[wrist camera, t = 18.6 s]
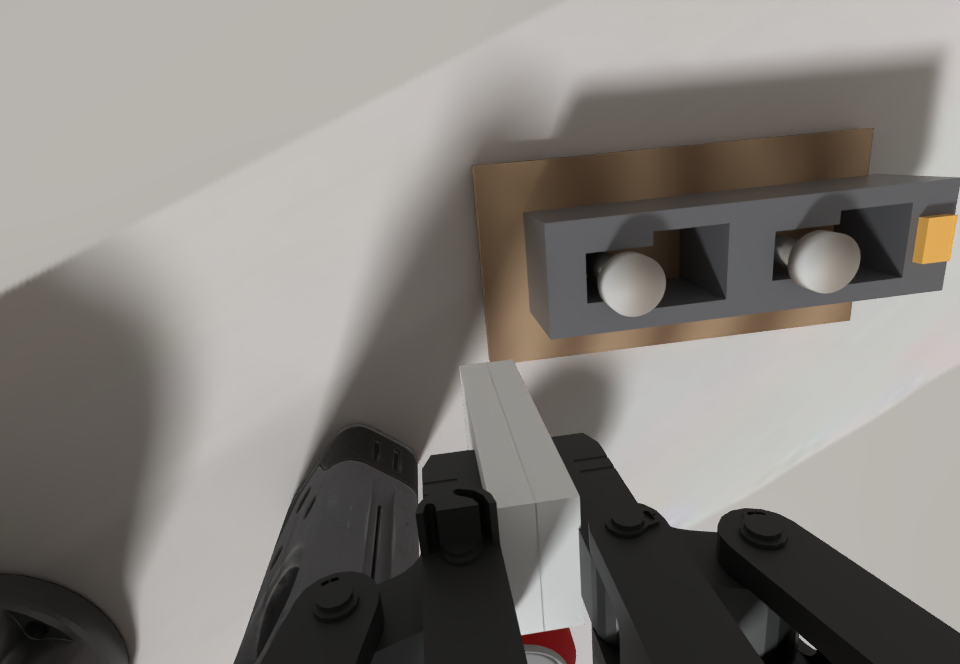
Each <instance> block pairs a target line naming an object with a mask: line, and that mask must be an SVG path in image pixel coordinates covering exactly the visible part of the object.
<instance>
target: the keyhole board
mask: <svg viewBox="0 0 960 664" xmlns="http://www.w3.org/2000/svg"><path fill="white" fill-rule="evenodd" d="M873 130H874V128H867V129H853V130H843V131H832V132H822V133H811V134H801V135H791V136H780V137H770V138H759V139H749V140H738V141H728V142H717V143H707V144H697V145H686V146H676V147H665V148H655V149H644V150H634V151H623V152H613V153H603V154H592V155H582V156H571V157H561V158H550V159H540V160H529V161H519V162H509V163H498V164H488V165H477V166H472V174H473V185H474V196H475V208H476V219H477V230H478V241H479V252H480V264H481V275H482V286H483V297H484V308H485V319H486V331H487V342H488V353H489V360H490V362H495V361H503V360H511V359H513V361H514V362H522V361H530V360H538V359H546V358H554V357H562V356H570V355H578V354H586V353H594V352H602V351H610V350H618V349H626V348H634V347H642V346H650V345H658V344H666V343H674V342H682V341H690V340H698V339H706V338H714V337H722V336H730V335H738V334H746V333H754V332H762V331H769V330H777V329H785V328H793V327H801V326H809V325H817V324H825V323H833V322H841V321H849V320H850V316H851V308H852V302H844V303H836V304H829V305H821V306H813V307H805V308H797V309H789V310H781V311H773V312H766V313H758V314H750V315H742V316H734V317H726V318H718V319H711V320H703V321H695V322H687V323H679V324H671V325H663V326H655V327H648V328H640V329H632V330H624V331H616V332H608V333H600V334H593V335H585V336H577V337H569V338H561V339H553V340H551V339H550V338H549V337H548V335H547V334H546V333H545V331H544V330H543V329H542V327H541V326H540V325H539V323H538V322H537V321H536V319H535V318H534V317H533V315H532V314H531V313H530V308H529V293H528V278H527V264H526V249H525V234H524V219H523V212H532V211H541V210H550V209H559V208H569V207H578V206H587V205H596V204H606V203H615V202H624V201H634V200H643V199H652V198H661V197H671V196H680V195H689V194H698V193H708V192H717V191H726V190H735V189H745V188H754V187H763V186H772V185H782V184H791V183H800V182H809V181H819V180H828V179H837V178H847V177H856V176H865V175H868V170H869V162H870V154H871V146H872V138H873ZM833 229H834V225H829V226H820V227H812V228H803V229H794V230H786V231H777V232H776V234H775V248H774V261H773V264H776V265H779V266H782V267H786V268H788V272H789V275H790V277H791V279H792V280H793V282H794V283H796V284H797V285H799V286H801V287H803V288H806V289H809V290H812V291H815V292H818V293H824V294H826V293H833V292H836V291H838V290H840V289H842V288H843V287H845V286H846V285H847V284H848V283H849V282H850V281H851V280H852V279H853V277H854V276H855V274H856V273H857V270H858V268H859V265H860V249H859V247H858V245H857V243H856V241H855V240H854V239H853V238H851V237H850V236H848V235H846V234H842V233H836V232H833ZM679 254H680V229H674V230H665V231H656V232H653V246H646V247H638V248H629V249H620V250H612V251H603V252H594V253H586V278H588V277H592V278H594V279H595V280H597V281H598V283H597V285H598V292H599V294H600V297H601V298H602V300H603V301H604V302H605V303H606V304H607V305H608V306H609V307H611V308H612V309H613V310H615V311H616V312H617V313H619V314H621V315H624V316H628V317H637V316H641V315H644V314H646V313H648V312H650V311H651V310H653V309H654V308H655V307H656V306H657V305H658V304H659V302H660V301H661V299H662V297H663V295H664V292H665V288H666V279H673V278H679Z"/></svg>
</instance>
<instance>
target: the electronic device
mask: <svg viewBox="0 0 960 664" xmlns="http://www.w3.org/2000/svg"><path fill="white" fill-rule="evenodd" d="M417 507H418V467H417V458H416V455H415V454H414V452H413V451H412V450H411V449H410V448H409V447H407V446H405V445H404V444H402V443H400V442H398V441H396V440H394V439H392V438H391V437H389V436H387V435H385V434H383V433H381V432H379V431H377V430H375V429H373V428H371V427H369V426H366V425H361V424H354V425H350V426H347V427H345V428H343V429H342V430H340V431H339V432H338V433H337V435H336V436H335V437H334V438H333V440H332V441H331V443H330V444H329V446H328V447H327V449H326V450H325V452H324V454H323V455H322V457H321V458H320V460H319V461H318V463H317V464H316V466H315V467H314V469H313V470H312V472H311V473H310V475H309V476H308V478H307V480H306V481H305V483H304V484H303V486H302V487H301V489H300V490H299V492H298V493H297V495H296V496H295V498H294V499H293V501H292V502H291V504H290V507H289V509H288V512H287V514H286V517H285V520H284V523H283V526H282V528H281V531H280V534H279V537H278V540H277V543H276V545H275V548H274V551H273V554H272V557H271V560H270V563H269V566H268V568H267V571H266V574H265V577H264V580H263V583H262V585H261V588H260V591H259V594H258V597H257V600H256V602H255V605H254V608H253V611H252V614H251V617H250V620H249V623H248V626H247V629H246V632H245V635H244V638H243V640H242V643H241V646H240V648H239V651H238V654H237V656H236V659H235V661H234V664H260V663H261V661H262V659H263V657H264V656H265V654H266V652H267V650H268V649H269V647H270V645H271V643H272V641H273V640H274V638H275V636H276V634H277V632H278V631H279V629H280V627H281V625H282V624H283V622H284V620H285V618H286V616H287V615H288V613H289V611H290V609H291V607H292V606H293V604H294V602H295V601H296V599H297V598H298V597H299V596H300V594H301V593H302V592H303V591H304V590H305V589H306V588H307V587H309V586H310V585H311V584H313V583H314V582H316V581H317V580H318V579H321V578H323V577H326V576H328V575H331V574H334V573H339V572H347V571H353V572H359V573H365V574H366V575H368V576H369V577H371V578H372V579H374V580H375V582H376V584H379V583H382V582H384V581H387V580H389V579H392V578H394V577H395V576H397V575H399V574H401V573H403V572H404V571H406V570H407V569H408V568H410V567H411V566H412V565H413V564H414V563H415V562H416V561H417V560H418V558H419V536H418V529H417V522H416V516H415V513H416V510H417Z"/></svg>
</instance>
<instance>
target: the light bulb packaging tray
mask: <svg viewBox="0 0 960 664" xmlns="http://www.w3.org/2000/svg"><path fill="white" fill-rule="evenodd" d="M959 187H960V178H957V177H933V176H909V175H885V174H874V175H865V176H856V177H847V178H837V179H828V180H819V181H809V182H800V183H791V184H782V185H772V186H763V187H754V188H745V189H735V190H726V191H717V192H708V193H698V194H689V195H680V196H671V197H661V198H652V199H643V200H634V201H624V202H615V203H606V204H596V205H587V206H578V207H569V208H559V209H550V210H541V211H532V212H523V219H524V234H525V249H526V264H527V278H528V293H529V308H530V313H531V314H532V315H533V317H534V318H535V319H536V321H537V322H538V323H539V325H540V326H541V327H542V329H543V330H544V331H545V333H546V334H547V335H548V337H549V338H550V339H551V340H553V339H561V338H569V337H577V336H585V335H593V334H600V333H608V332H616V331H624V330H632V329H640V328H648V327H655V326H663V325H671V324H679V323H687V322H695V321H703V320H711V319H718V318H726V317H734V316H742V315H750V314H758V313H766V312H773V311H781V310H789V309H797V308H805V307H813V306H821V305H829V304H836V303H844V302H852V301H860V300H868V299H876V298H884V297H892V296H899V295H907V294H915V293H923V292H931V291H939V290H942V287H943V281H944V275H945V269H946V263H947V261H950V257H951V251H952V245H953V240H954V234H955V228H956V222H957V216H958V215H955V210H956V204H957V199H958V193H959ZM829 225H834V229H833V232H836V233H842V234H846V235H848V236H850V237H851V238H853V239H854V240H855V241H856V243H857V245H858V247H859V249H860V265H859V268H858V270H857V273H856V274H855V276H854V277H853V279H852V280H851V281H850V282H849V283H848V284H847V285H846V286H845V287H843V288H842V289H840V290H838V291H836V292H833V293H826V294H824V293H818V292H815V291H812V290H809V289H806V288H803V287H801V286H799V285H797V284H796V283H794V282H793V280H792V279H791V277H790V275H789V272H788V268H786V267H782V266H779V265H776V264H773V261H774V248H775V234H776V232H777V231H786V230H794V229H803V228H812V227H820V226H829ZM674 229H680V254H679V278H673V279H666V288H665V292H664V295H663V297H662V299H661V301H660V302H659V304H658V305H657V306H656V307H655V308H654V309H653V310H651V311H650V312H648V313H646V314H644V315H641V316H637V317H628V316H624V315H621V314H619V313H617V312H616V311H615V310H613V309H612V308H611V307H609V306H608V305H607V304H606V303H605V302H604V301H603V300H602V298H601V297H600V294H599V292H598V285H597V283H598V281H597V280H595V279H594V278H592V277H588V278H586V253H594V252H603V251H612V250H620V249H629V248H638V247H646V246H653V232H656V231H665V230H674Z"/></svg>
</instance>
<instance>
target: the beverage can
mask: <svg viewBox="0 0 960 664" xmlns="http://www.w3.org/2000/svg"><path fill="white" fill-rule="evenodd" d="M521 637H522V641H523V645H524V650H525V654H526V658H527V663H528V664H575V661H576V649H575V645H574V642H573V638H572V635H571V632H570V629H569V627H568V628H562V629H556V630H550V631H544V632H538V633H532V634H526V635H521Z"/></svg>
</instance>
